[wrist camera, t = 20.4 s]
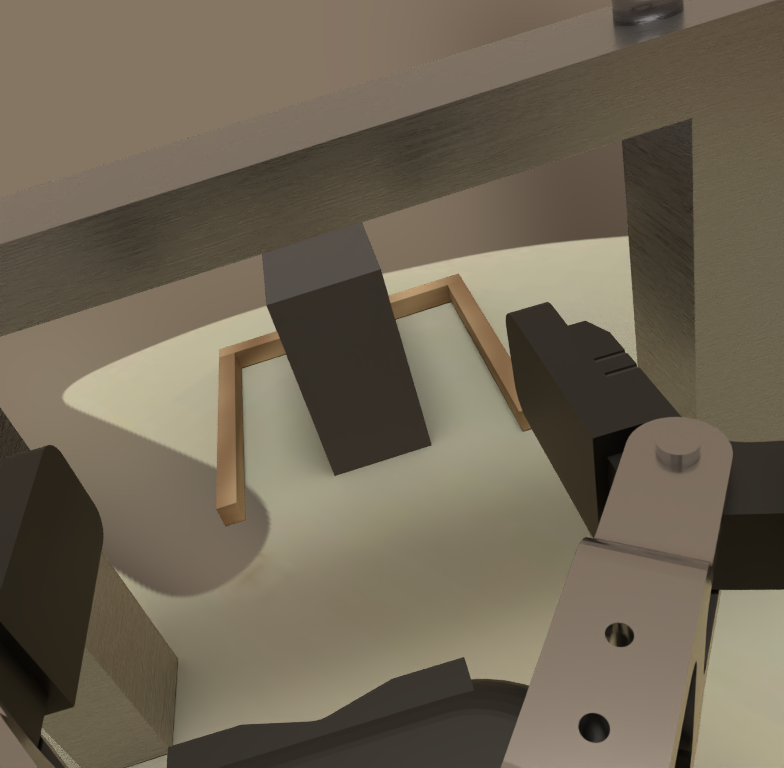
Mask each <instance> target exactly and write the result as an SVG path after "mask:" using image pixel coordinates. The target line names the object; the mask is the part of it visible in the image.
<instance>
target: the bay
mask: <svg viewBox="0 0 784 768" xmlns="http://www.w3.org/2000/svg"><path fill="white" fill-rule="evenodd" d="M389 300H390V303H391V307H392V310H393V314H394V317H395V319H397V318H400V317H403V316H406V315H410V314H413V313H416V312H419V311H422V310H425V309H429V308H432V307H435V306H438V305H441V304H444V303H447V302H452V303H453V305H454V307H455V309H456V311H457V312H458V314H459V316H460V318H461V320H462V321H463V323H464V325H465V327H466V329H467V331H468V332H469V334H470V336H471V338H472V340H473V341H474V343H475V345H476V347H477V349H478V350H479V352H480V354H481V356H482V358H483V359H484V361H485V363H486V365H487V367H488V369H489V370H490V372H491V374H492V376H493V378H494V379H495V381H496V383H497V385H498V387H499V388H500V390H501V392H502V394H503V396H504V398H505V399H506V401H507V403H508V405H509V407H510V408H511V410H512V412H513V414H514V416H515V417H516V419H517V421H518V423H519V425H520V426H521V428H522V430H523V431H525V430H528V429H531V427H530V425H529V423H528V421H527V420H526V418H525V416H524V413H523V411H522V409H521V406H520V403H519V400H518V396H517V393H516V388H515V383H514V376H513V369H512V362H511V358H510V357H509V355H508V353H507V352H506V350H505V348H504V347H503V345H502V344H501V342H500V340H499V339H498V337H497V335H496V334H495V332H494V330H493V329H492V327H491V326H490V324H489V322H488V321H487V319H486V317H485V316H484V314H483V313H482V311H481V309H480V308H479V306H478V304H477V303H476V301H475V299H474V298H473V296H472V295H471V293H470V291H469V290H468V288H467V286H466V285H465V283H464V282H463V280H462V278H461V277H460V275H459V274H456V275H453V276H449V277H446V278H443V279H440V280H437V281H434V282H430V283H427V284H424V285H421V286H418V287H415V288H412V289H408V290H405V291H402V292H399V293H396V294H393V295H390V296H389ZM284 354H286V352H285V350H284V348H283V345H282V343H281V340H280V338H279V335H278V333H277V331H276V332H273V333H270V334H267V335H264V336H260V337H257V338H254V339H251V340H248V341H245V342H241V343H238V344H235V345H232V346H229V347H226V348H223V349H219V395H218V444H217V495H216V509H217V511H218V513H219V515H220V517H221V519H222V520H223V522H224V524H225V526H228V525H231V524H234V523H238V522H241V521H244V520H246V519H245V518H246V517H245V481H244V444H243V408H242V371H241V368H243V367H246V366H249V365H252V364H255V363H259V362H262V361H265V360H268V359H271V358H274V357H277V356H281V355H284Z"/></svg>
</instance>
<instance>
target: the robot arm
mask: <svg viewBox="0 0 784 768" xmlns="http://www.w3.org/2000/svg"><path fill="white" fill-rule="evenodd" d="M506 328H507V335H508V341H509V348H510V355H511V362H512V369H513V376H514V383H515V388H516V393H517V396H518V400H519V403H520V406H521V409H522V411H523V413H524V416H525V418H526V420H527V421H528V423H529V425H530V427H531V428H532V430H533V432H534V434H535V436H536V437H537V439H538V441H539V443H540V444H541V446H542V448H543V450H544V452H545V453H546V455H547V457H548V459H549V460H550V462H551V464H552V466H553V468H554V469H555V471H556V473H557V475H558V476H559V478H560V480H561V482H562V484H563V485H564V487H565V489H566V491H567V492H568V494H569V496H570V498H571V499H572V501H573V503H574V505H575V507H576V508H577V510H578V512H579V514H580V515H581V517H582V519H583V521H584V523H585V524H586V526H587V528H588V530H589V531H590V533H591V535H592V537H593V539H592V538H587V537H585V538H584V539H583V540H582V541H581V543H580V545H579V547H578V549H577V552H576V554H575V557H574V560H573V563H572V566H571V568H570V571H569V574H568V577H567V580H566V583H565V586H564V588H563V591H562V594H561V597H560V600H559V603H558V606H557V608H556V611H555V614H554V617H553V620H552V623H551V626H550V628H549V631H548V634H547V637H546V640H545V643H544V646H543V648H542V651H541V654H540V657H539V660H538V663H537V666H536V668H535V671H534V674H533V677H532V680H531V683H530V686H528V685H525V684H520V683H515V682H510V681H505V680H492V679H471V678H470V675H469V672H468V668H467V665H466V662H465V659H464V657H463V658H459V659H456V660H453V661H450V662H446V663H443V664H440V665H436V666H433V667H430V668H427V669H423V670H420V671H417V672H413V673H410V674H407V675H404V676H400V677H397V678H394V679H391V680H389V681H388V682H386V683H384V684H383V685H381V686H379V687H377V688H376V689H374V690H372V691H370V692H369V693H367V694H365V695H364V696H362V697H360V698H358V699H357V700H355V701H353V702H352V703H350V704H348V705H346V706H345V707H343V708H341V709H339V710H338V711H336V712H334V713H333V714H331V715H329V716H327V717H325V718H323V719H321V720H318V721H312V722H292V723H270V724H249V725H239V726H236V727H233V728H229V729H226V730H223V731H220V732H216V733H213V734H210V735H206V736H203V737H200V738H197V739H193V740H190V741H187V742H183V743H180V744H177V745H174V746H170V747H168V755H167V768H693V766H694V760H695V754H696V748H697V741H698V734H699V727H700V719H701V710H702V702H703V695H704V689H705V683H706V677H707V671H708V665H709V659H710V654H711V648H712V642H713V636H714V630H715V625H716V619H717V613H718V607H719V601H720V595H721V590H784V441H765V442H735V441H729V440H728V439H727V437H726V436H725V435H724V434H723V433H722V432H721V431H720V430H718V429H717V428H715V427H714V426H712V425H710V424H708V423H705V422H703V421H700V420H696V419H692V418H686V417H681V416H680V414H679V413H678V412H677V411H676V410H675V408H674V407H673V406H672V405H671V404H670V403H669V401H668V400H667V399H666V398H665V397H664V396H663V394H662V393H661V392H660V391H659V390H658V389H657V387H656V386H655V385H654V384H653V383H652V381H651V380H650V379H649V378H648V377H647V376H646V374H645V373H644V372H643V371H642V370H641V369H640V367H639V368H637V365H636V363H635V362H634V360H633V359H632V358H631V357H630V356H629V354H628V353H625V350H624V349H623V347H622V346H621V345H620V344H619V343H618V342H617V340H616V339H615V338H614V337H613V336H612V335H611V333H610V332H608V331H606V330H604V329H602V328H599V327H597V326H595V325H593V324H591V323H589V322H587V321H583V322H579V323H576V324H572V325H569V326H568V325H567V324H566V323H565V322H564V320H563V319H562V318H561V316H560V315H559V314H558V312H557V311H556V310H555V309H554V307H553V306H552V305H551V304H550V303H549V302H546V303H542V304H539V305H535V306H532V307H529V308H525V309H522V310H518V311H515V312H511V313H508V314H507V315H506ZM102 527H103V526H102V522H101V518H100V515H99V512H98V510H97V508H96V506H95V504H94V503H93V501H92V500H91V498H90V497H89V495H88V494H87V492H86V491H85V489H84V487H83V486H82V484H81V483H80V481H79V480H78V478H77V476H76V475H75V473H74V472H73V470H72V469H71V467H70V466H69V464H68V463H67V461H66V460H65V458H64V457H63V455H62V453H61V452H60V451H59V450H58V449H57V448H56V447H54V446H52V445H48V446H45V447H42V448H38V449H34V450H31V451H27V452H24V453H20V454H17V455H13V456H10V457H7V458H5V459H4V460H3V462H2V464H1V466H0V768H68V767H67V765H66V764H65V763H64V761H63V760H62V759H61V758H60V756H59V755H58V754H57V752H56V751H55V750H54V748H53V747H52V746H51V745H50V743H49V742H48V741H47V740H46V739H45V738H44V737H43V736H42V735H41V729H42V724H43V720H44V716H46V715H49V714H52V713H56V712H59V711H62V710H65V709H69V708H72V707H74V706H75V700H76V695H77V689H78V683H79V677H80V672H81V666H82V660H83V654H84V649H85V643H86V637H87V631H88V626H89V620H90V614H91V609H92V603H93V597H94V591H95V586H96V580H97V574H98V568H99V563H100V557H101V551H102V545H103V528H102Z"/></svg>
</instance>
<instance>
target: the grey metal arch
mask: <svg viewBox="0 0 784 768" xmlns="http://www.w3.org/2000/svg"><path fill="white" fill-rule="evenodd" d="M621 140H622V149H623V163H624V178H625V191H626V206H627V220H628V235H629V249H630V263H631V277H632V291H633V306H634V320H635V334H636V348H637V363H638V368H639V367H640V369H641V370H642V371H643V372H644V373H645V374H646V376H647V377H648V378H649V379H650V380H651V381H652V383H653V384H654V385H655V386H656V387H657V389H658V390H659V391H660V392H661V393H662V394H663V396H664V397H665V398H666V399H667V400H668V401H669V403H670V404H671V405H672V406H673V407H674V408H675V410H676V411H677V412H678V413H679V414H680V416H681V417H686V418H692V419H696V420H700V421H703V422H705V423H708V424H710V425H712V426H714V427H715V428H717V429H718V430H720V431H721V432H722V433H723V434H724V435H725V436H726V437H727V439H728V440H729V441H735V442H765V441H784V0H612V5H611V6H608V7H605V8H601V9H598V10H595V11H592V12H589V13H586V14H583V15H579V16H576V17H573V18H570V19H566V20H563V21H560V22H557V23H554V24H551V25H548V26H544V27H541V28H538V29H535V30H532V31H528V32H525V33H522V34H519V35H516V36H513V37H509V38H506V39H503V40H500V41H496V42H494V43H490V44H487V45H484V46H480V47H477V48H474V49H471V50H468V51H465V52H462V53H458V54H455V55H452V56H449V57H446V58H442V59H439V60H436V61H433V62H429V63H426V64H423V65H420V66H417V67H414V68H410V69H407V70H404V71H401V72H398V73H395V74H391V75H388V76H385V77H382V78H379V79H376V80H372V81H369V82H366V83H363V84H359V85H356V86H354V87H350V88H347V89H344V90H340V91H337V92H334V93H331V94H328V95H325V96H321V97H318V98H315V99H312V100H308V101H305V102H302V103H299V104H296V105H293V106H289V107H286V108H283V109H280V110H277V111H273V112H270V113H267V114H264V115H261V116H258V117H254V118H252V119H248V120H245V121H242V122H238V123H235V124H232V125H229V126H226V127H223V128H219V129H216V130H213V131H210V132H207V133H204V134H200V135H197V136H194V137H191V138H188V139H184V140H181V141H178V142H175V143H172V144H168V145H165V146H162V147H159V148H156V149H153V150H150V151H146V152H143V153H140V154H137V155H133V156H130V157H127V158H124V159H121V160H118V161H114V162H111V163H108V164H105V165H102V166H98V167H95V168H92V169H89V170H86V171H82V172H79V173H76V174H73V175H70V176H67V177H63V178H60V179H57V180H54V181H51V182H47V183H44V184H41V185H38V186H35V187H32V188H28V189H25V190H22V191H19V192H16V193H12V194H9V195H6V196H3V197H0V337H1V336H4V335H7V334H10V333H13V332H16V331H20V330H23V329H26V328H29V327H32V326H36V325H39V324H42V323H45V322H48V321H51V320H54V319H58V318H61V317H64V316H67V315H70V314H73V313H77V312H80V311H83V310H86V309H89V308H93V307H96V306H99V305H102V304H105V303H108V302H111V301H115V300H118V299H121V298H124V297H127V296H131V295H134V294H137V293H140V292H143V291H146V290H149V289H153V288H155V287H159V286H162V285H165V284H168V283H172V282H175V281H178V280H181V279H184V278H187V277H191V276H194V275H197V274H200V273H203V272H206V271H210V270H213V269H216V268H219V267H222V266H225V265H228V264H231V263H235V262H238V261H241V260H244V259H247V258H251V257H254V256H257V255H260V254H263V253H267V252H270V251H273V250H276V249H279V248H282V247H285V246H289V245H292V244H295V243H298V242H301V241H304V240H308V239H311V238H314V237H317V236H320V235H323V234H327V233H330V232H333V231H336V230H339V229H342V228H346V227H349V226H352V225H355V224H358V223H361V222H365V221H368V220H371V219H374V218H377V217H380V216H383V215H386V214H390V213H393V212H396V211H399V210H403V209H405V208H409V207H412V206H415V205H418V204H421V203H424V202H428V201H431V200H434V199H437V198H440V197H443V196H447V195H450V194H453V193H456V192H459V191H463V190H466V189H469V188H472V187H475V186H478V185H482V184H485V183H488V182H491V181H494V180H497V179H501V178H503V177H507V176H510V175H513V174H516V173H519V172H523V171H526V170H529V169H532V168H535V167H538V166H542V165H545V164H548V163H551V162H554V161H557V160H560V159H563V158H567V157H570V156H573V155H576V154H579V153H583V152H586V151H589V150H592V149H595V148H599V147H602V146H605V145H608V144H611V143H614V142H617V141H621ZM27 451H30V449H29V448H28V446H27V445H26V443H25V442H24V441H23V439H22V438H21V436H20V435H19V434H18V432H17V431H16V429H15V428H14V427H13V425H12V424H11V422H10V421H9V420H8V418H7V417H6V415H5V414H4V412H3V411H2V410H1V408H0V466H1V464H2V462H3V460H4V459H5V458H7V457H10V456H13V455H17V454H20V453H24V452H27ZM177 664H178V658H177V657H176V655H175V654H174V653H173V651H172V650H171V648H170V647H169V645H168V644H167V643H166V641H165V640H164V638H163V637H162V636H161V634H160V633H159V631H158V630H157V628H156V627H155V626H154V624H153V623H152V621H151V620H150V619H149V617H148V616H147V614H146V613H145V612H144V610H143V609H142V607H141V606H140V604H139V603H138V602H137V600H136V599H135V597H134V596H133V595H132V593H131V592H130V590H129V589H128V588H127V586H126V585H125V583H124V582H123V580H122V579H121V578H120V576H119V575H118V573H117V572H116V571H115V569H114V568H113V566H112V565H111V564H110V562H109V561H108V559H107V558H106V557H105V555H104V554H103V552H102V551H101V557H100V563H99V568H98V574H97V580H96V586H95V591H94V597H93V603H92V609H91V614H90V620H89V626H88V631H87V637H86V643H85V649H84V654H83V660H82V666H81V672H80V677H79V683H78V689H77V695H76V700H75V706H74V707H72V708H69V709H65V710H62V711H59V712H56V713H52V714H49V715H46V716H44V720H43V724H42V728H43V729H44V730H45V731H46V732H47V733H48V734H49V735H50V736H51V737H52V738H53V739H54V740H55V741H56V742H57V743H58V744H59V745H60V746H61V747H62V748H63V749H64V750H65V751H66V752H67V753H68V754H69V755H70V756H71V757H72V758H73V759H74V761H75V762H76V763H77V764H78V765H79V766H80V767H81V768H125V767H128V766H131V765H134V764H137V763H140V762H143V761H146V760H150V759H153V758H156V757H159V756H162V755H165V754H168V747H170V746H172V739H173V724H174V709H175V694H176V679H177Z"/></svg>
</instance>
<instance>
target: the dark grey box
mask: <svg viewBox="0 0 784 768" xmlns="http://www.w3.org/2000/svg"><path fill="white" fill-rule="evenodd" d="M262 258H263V270H264V282H265V293H266V305H267V308H268V310H269V313H270V315H271V318H272V320H273V323H274V325H275V328H276V330H277V333H278V335H279V338H280V340H281V343H282V345H283V348H284V350H285V352H286V355H287V357H288V360H289V362H290V365H291V367H292V370H293V372H294V375H295V377H296V380H297V382H298V385H299V387H300V390H301V392H302V395H303V397H304V400H305V402H306V405H307V407H308V410H309V412H310V415H311V417H312V420H313V422H314V425H315V427H316V430H317V432H318V435H319V437H320V440H321V442H322V445H323V447H324V450H325V452H326V455H327V457H328V460H329V462H330V465H331V467H332V470H333V472H334V475H335V476H336V475H339V474H342V473H345V472H349V471H352V470H355V469H358V468H361V467H364V466H368V465H371V464H374V463H377V462H380V461H383V460H386V459H390V458H393V457H396V456H399V455H402V454H405V453H408V452H412V451H415V450H418V449H421V448H424V447H427V446H430V445H431V442H430V438H429V435H428V431H427V428H426V424H425V421H424V417H423V414H422V410H421V407H420V404H419V400H418V397H417V393H416V390H415V386H414V383H413V379H412V376H411V372H410V369H409V365H408V362H407V359H406V355H405V352H404V348H403V345H402V341H401V338H400V334H399V331H398V327H397V324H396V320H395V317H394V314H393V310H392V307H391V303H390V300H389V296H388V293H387V289H386V286H385V282H384V279H383V275H382V272H381V269H380V266H379V264H378V261H377V259H376V256H375V254H374V251H373V249H372V246H371V244H370V241H369V239H368V236H367V234H366V231H365V229H364V226H363V224H362V222H361V223H358V224H355V225H352V226H349V227H346V228H342V229H339V230H336V231H333V232H330V233H327V234H323V235H320V236H317V237H314V238H311V239H308V240H304V241H301V242H298V243H295V244H292V245H289V246H285V247H282V248H279V249H276V250H273V251H270V252H267V253H263V254H262Z"/></svg>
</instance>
